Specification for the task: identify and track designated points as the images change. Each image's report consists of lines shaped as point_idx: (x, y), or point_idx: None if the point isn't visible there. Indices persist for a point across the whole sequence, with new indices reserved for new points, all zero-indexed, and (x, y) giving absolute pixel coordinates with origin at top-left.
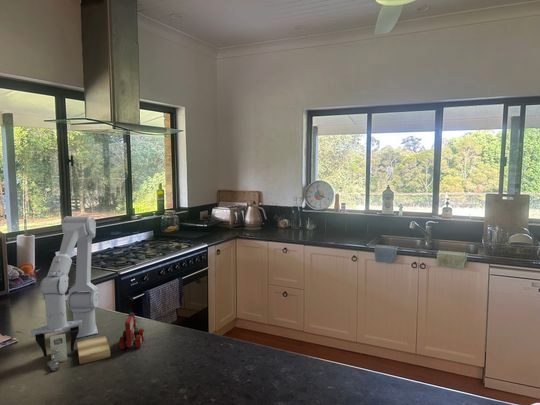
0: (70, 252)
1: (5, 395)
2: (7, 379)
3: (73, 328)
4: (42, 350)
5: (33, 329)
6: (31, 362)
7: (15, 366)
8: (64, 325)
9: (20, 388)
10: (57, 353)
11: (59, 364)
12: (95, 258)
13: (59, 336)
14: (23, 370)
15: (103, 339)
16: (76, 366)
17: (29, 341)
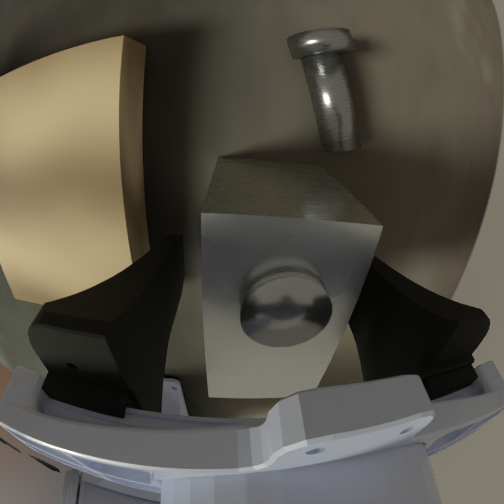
0: None
1: (498, 24)
2: (492, 153)
3: (92, 397)
4: (391, 269)
5: (471, 432)
6: (395, 259)
7: (444, 258)
8: (188, 494)
9: (466, 20)
10: (294, 181)
11: (292, 36)
12: None
13: (254, 379)
14: (442, 193)
15: (7, 258)
16: (172, 28)
17: None
